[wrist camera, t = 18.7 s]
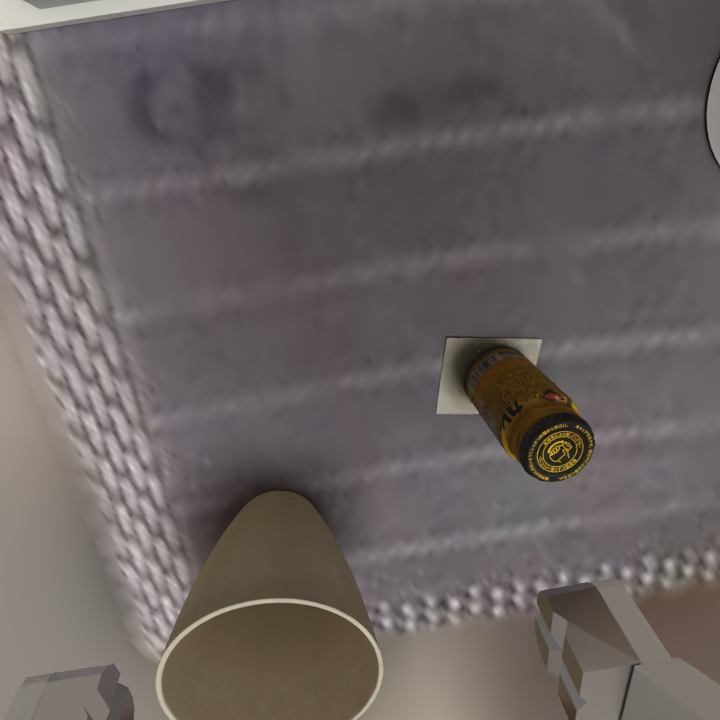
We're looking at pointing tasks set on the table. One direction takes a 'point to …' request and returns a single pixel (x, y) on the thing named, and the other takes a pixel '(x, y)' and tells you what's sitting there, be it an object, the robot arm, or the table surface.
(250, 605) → the plant pot
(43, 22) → the box
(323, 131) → the table surface
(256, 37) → the table surface
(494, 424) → the condiment
